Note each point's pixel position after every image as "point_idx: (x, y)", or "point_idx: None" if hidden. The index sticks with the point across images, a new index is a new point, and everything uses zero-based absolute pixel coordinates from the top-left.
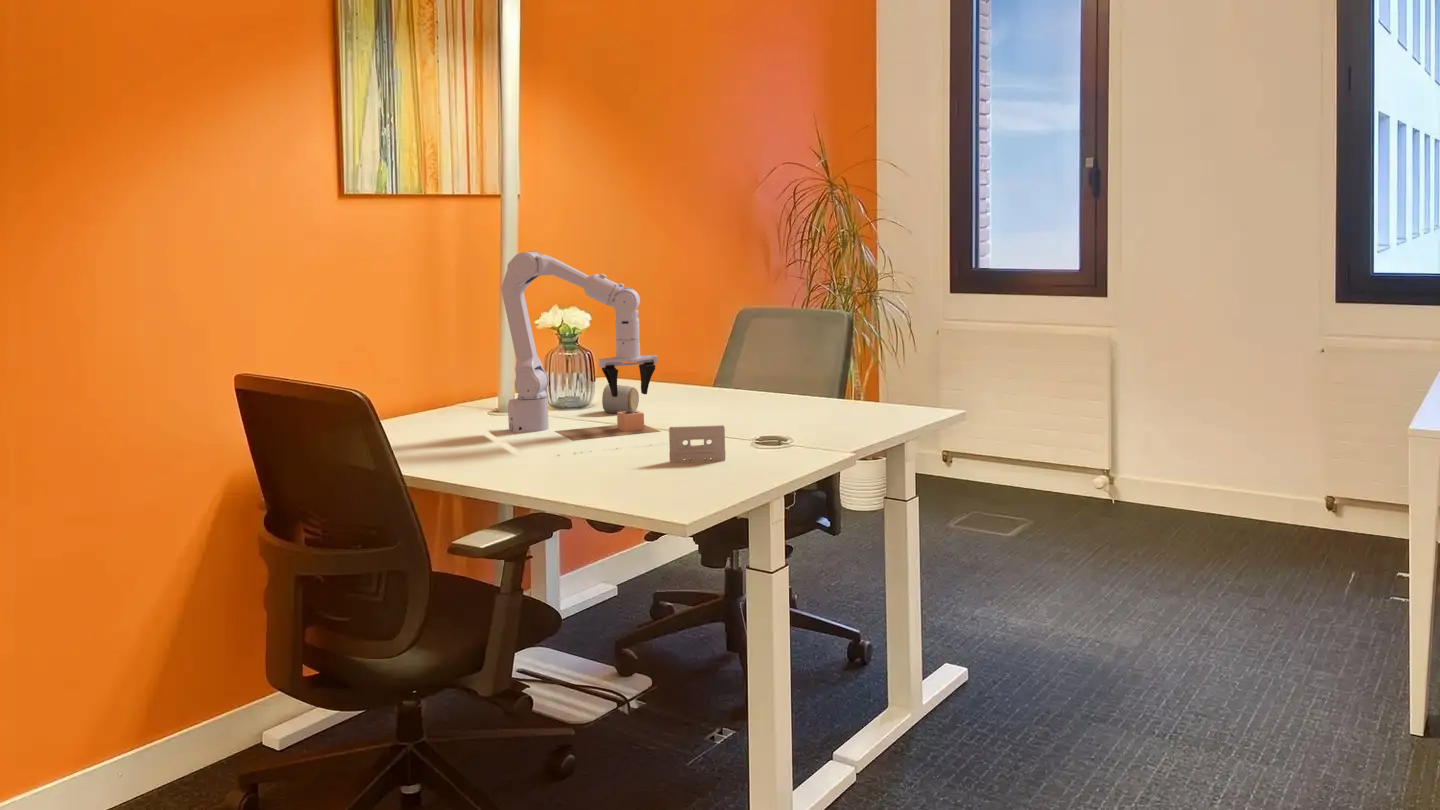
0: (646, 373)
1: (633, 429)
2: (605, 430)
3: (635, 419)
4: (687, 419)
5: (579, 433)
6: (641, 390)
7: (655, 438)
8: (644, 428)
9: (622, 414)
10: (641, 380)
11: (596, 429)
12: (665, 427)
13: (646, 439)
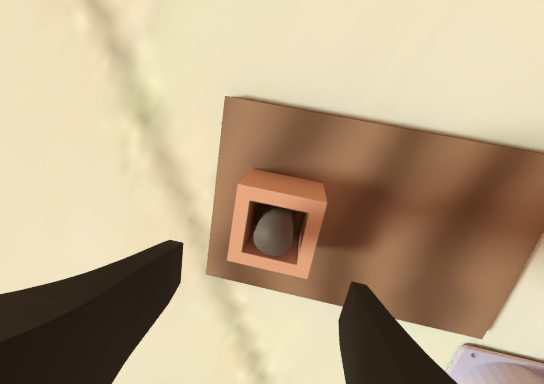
0: (64, 312)
1: (290, 177)
2: (359, 242)
3: (278, 185)
4: (59, 261)
5: (458, 257)
6: (172, 291)
7: (270, 61)
8: None
9: (321, 222)
10: (131, 344)
11: (369, 274)
12: (154, 208)
13: (306, 66)
